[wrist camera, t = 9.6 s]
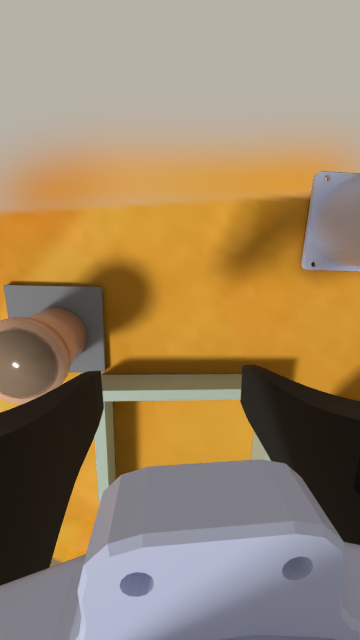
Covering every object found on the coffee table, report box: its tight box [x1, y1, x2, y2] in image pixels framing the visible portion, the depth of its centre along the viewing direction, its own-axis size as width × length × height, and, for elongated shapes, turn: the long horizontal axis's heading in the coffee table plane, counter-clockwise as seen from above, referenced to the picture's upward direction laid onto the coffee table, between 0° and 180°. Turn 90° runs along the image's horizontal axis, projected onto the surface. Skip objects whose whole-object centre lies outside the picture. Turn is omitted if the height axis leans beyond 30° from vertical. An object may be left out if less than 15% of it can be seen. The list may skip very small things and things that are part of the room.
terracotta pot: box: [0, 308, 88, 404], centre depth 17 cm, size 6×6×6 cm
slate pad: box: [4, 285, 106, 372], centre depth 21 cm, size 8×8×1 cm
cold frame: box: [95, 374, 271, 505], centre depth 22 cm, size 17×17×5 cm
